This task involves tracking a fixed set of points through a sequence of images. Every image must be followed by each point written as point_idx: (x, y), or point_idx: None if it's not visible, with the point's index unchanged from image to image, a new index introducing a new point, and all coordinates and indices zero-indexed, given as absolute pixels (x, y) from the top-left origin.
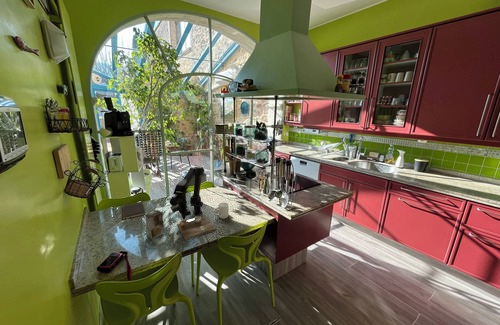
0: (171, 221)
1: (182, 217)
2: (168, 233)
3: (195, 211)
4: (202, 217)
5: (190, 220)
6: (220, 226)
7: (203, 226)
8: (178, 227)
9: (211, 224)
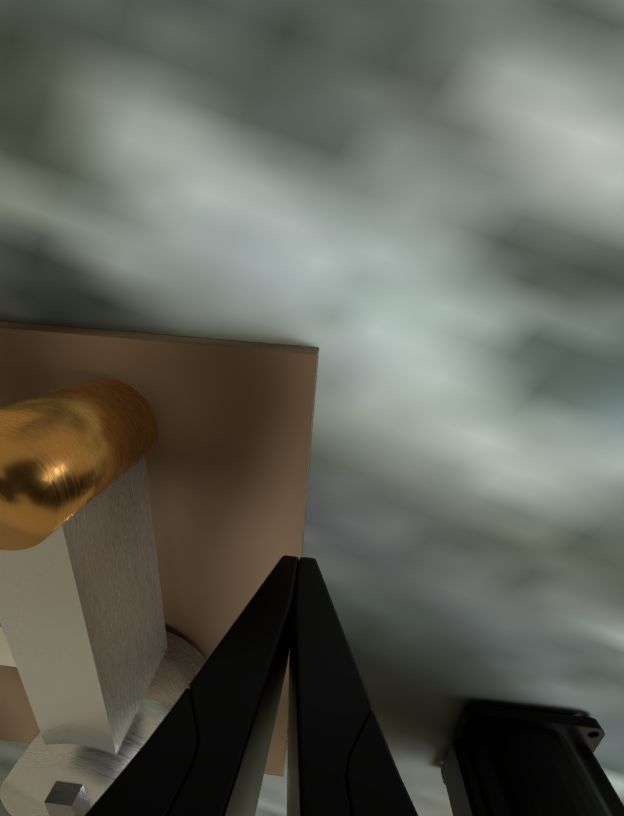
0: (614, 306)
1: (253, 616)
2: (105, 33)
3: (515, 779)
4: (270, 748)
5: (39, 671)
6: (11, 749)
7: (7, 663)
8: (193, 341)
9: (24, 737)
